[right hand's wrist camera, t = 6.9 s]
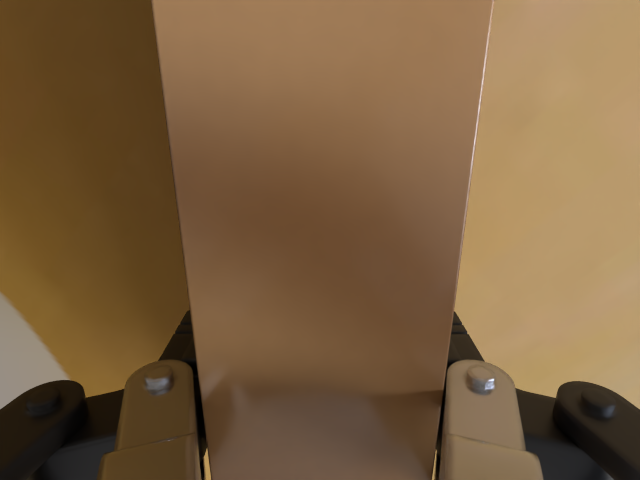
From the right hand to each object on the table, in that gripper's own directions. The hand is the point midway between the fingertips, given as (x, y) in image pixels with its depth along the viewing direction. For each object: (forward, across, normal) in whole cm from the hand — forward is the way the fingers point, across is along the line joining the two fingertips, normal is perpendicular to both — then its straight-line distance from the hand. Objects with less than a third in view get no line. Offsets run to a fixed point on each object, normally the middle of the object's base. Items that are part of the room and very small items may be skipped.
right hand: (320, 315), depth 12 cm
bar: (+3, 0, -26) cm, 27 cm away
